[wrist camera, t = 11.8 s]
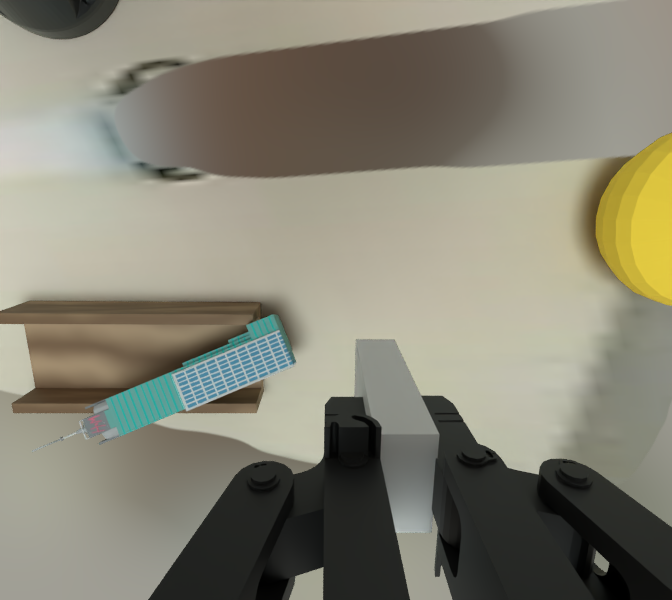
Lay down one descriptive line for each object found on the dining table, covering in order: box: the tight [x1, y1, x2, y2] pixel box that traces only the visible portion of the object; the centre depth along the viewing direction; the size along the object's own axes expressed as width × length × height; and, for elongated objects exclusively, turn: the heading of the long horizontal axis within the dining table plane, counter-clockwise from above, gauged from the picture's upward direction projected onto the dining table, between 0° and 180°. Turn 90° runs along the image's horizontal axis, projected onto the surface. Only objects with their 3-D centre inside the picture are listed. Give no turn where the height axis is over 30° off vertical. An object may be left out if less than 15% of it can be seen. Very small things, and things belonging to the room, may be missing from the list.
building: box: [33, 314, 296, 451], centre depth 46 cm, size 6×6×30 cm
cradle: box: [0, 301, 264, 413], centre depth 49 cm, size 12×28×6 cm, turn 89°
